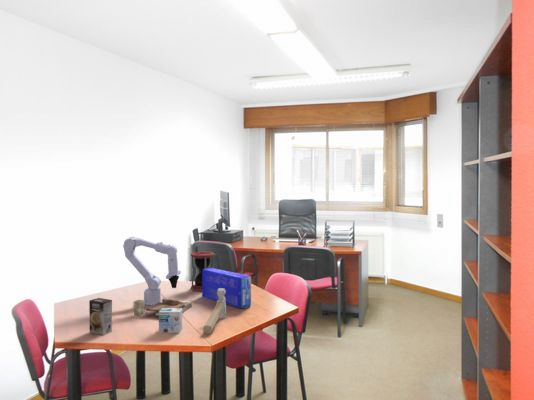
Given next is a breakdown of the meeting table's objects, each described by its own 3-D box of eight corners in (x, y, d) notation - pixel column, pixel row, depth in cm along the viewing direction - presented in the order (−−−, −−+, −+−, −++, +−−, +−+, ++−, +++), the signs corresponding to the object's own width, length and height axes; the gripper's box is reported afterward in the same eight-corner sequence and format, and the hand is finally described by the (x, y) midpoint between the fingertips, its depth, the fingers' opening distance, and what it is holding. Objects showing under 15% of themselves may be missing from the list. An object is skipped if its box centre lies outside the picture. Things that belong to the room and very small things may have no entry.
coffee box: (88, 332, 217) (88, 300, 216) (98, 328, 223) (98, 297, 222) (103, 335, 213) (102, 302, 213) (112, 331, 219) (112, 299, 218)
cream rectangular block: (133, 315, 245) (133, 301, 244) (137, 313, 249) (137, 299, 248) (139, 316, 244) (139, 302, 243) (143, 314, 247) (143, 300, 247)
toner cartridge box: (251, 306, 264) (251, 276, 263) (240, 309, 258) (241, 278, 257) (212, 294, 292) (212, 267, 291) (201, 296, 286) (201, 268, 285)
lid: (145, 310, 244) (145, 304, 244) (159, 303, 258) (159, 297, 258) (172, 313, 239) (172, 306, 239) (184, 306, 253) (184, 300, 253)
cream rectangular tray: (148, 314, 247) (148, 309, 247) (167, 304, 267) (167, 299, 267) (174, 317, 242) (174, 311, 242) (191, 307, 262) (191, 302, 262)
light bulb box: (158, 333, 217) (158, 311, 216) (161, 328, 224) (161, 307, 223) (180, 333, 217) (180, 311, 216) (182, 328, 224) (182, 307, 223)
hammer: (211, 316, 213) (226, 288, 242) (201, 315, 214) (217, 287, 242) (213, 344, 217) (227, 313, 246) (204, 344, 218) (219, 313, 246)
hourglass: (210, 285, 318) (210, 250, 317) (217, 290, 303) (217, 254, 302) (188, 287, 311) (188, 252, 310) (194, 292, 296) (194, 255, 295)
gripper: (172, 268, 261) (174, 291, 262) (184, 263, 275) (185, 285, 276) (162, 268, 263) (163, 290, 264) (174, 263, 277) (175, 284, 278)
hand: (174, 287), depth 270 cm, fingers closed
